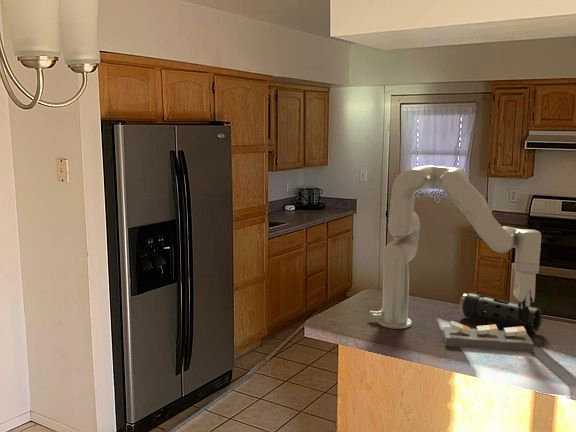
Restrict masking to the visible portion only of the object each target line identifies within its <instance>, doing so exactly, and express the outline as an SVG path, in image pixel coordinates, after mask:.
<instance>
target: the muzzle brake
mask: <svg viewBox="0 0 576 432" xmlns="http://www.w3.org/2000/svg"><path fill="white" fill-rule="evenodd" d="M458 304H459V305H458V309H459V313H460V314H461V315H463V316H464V317H466V318H469V319H473V320H476V321H477V322H479V323H483V324H487V323H490V324H492V325H494V324H496V326H497V325H498V326H500V327H501V328H509V327H520V326H523V327H524V328H525V330H526V332H527V334H528V335H531V336H534V335H536V334H537V332H538V331H539V329H540V327H541V324H542V318H543V313H542V310H541V308H539V307H534V306H530V308H529V320H528V321H525V320H519V319H518V307H519V303H516V302H511V301H508V300H502V299H497V298H493V297H488V296H483V295H481V294H478V293H473V292H469V293H467V292H466V293H463V294H462V296H461V297H460V300H459V303H458Z"/></svg>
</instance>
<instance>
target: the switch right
mask: <svg viewBox="0 0 576 432" xmlns="http://www.w3.org/2000/svg"><path fill="white" fill-rule="evenodd" d="M503 331H504V333H505V334H506V336H517V335H527V334H528V333H527V334H526V330H525V328H524V327H523V326H520V327H509V328H506V327H503Z"/></svg>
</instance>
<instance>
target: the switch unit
mask: <svg viewBox="0 0 576 432" xmlns="http://www.w3.org/2000/svg"><path fill="white" fill-rule="evenodd" d="M470 331H471V332H470V334H469V335H468V334H465V333H462V332H460V331H457V330H454V329H451V327H450V326H443V327H442V336H443V341H444V345H445V347H449V348H451V347H452V348H462V349H463V348H466V349H479V350H491V351H504V352H505V351H507V352H517V353H518V352H520V353H530V354H531V353H534V347H535V344H534V342H533V340H532V338H531V337H530V336H529V334H528V333H527V332H526V334H527V335H517V336H506V334H505V333H504V330H500V329H498V333H490V334H478V332H477V328H470Z"/></svg>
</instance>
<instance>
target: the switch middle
mask: <svg viewBox="0 0 576 432" xmlns="http://www.w3.org/2000/svg"><path fill="white" fill-rule="evenodd" d="M476 329H477V332H478V334H490V333H498V330H499V328H498V326H497V324H487V325H485V324H483V325H477V326H476Z"/></svg>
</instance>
